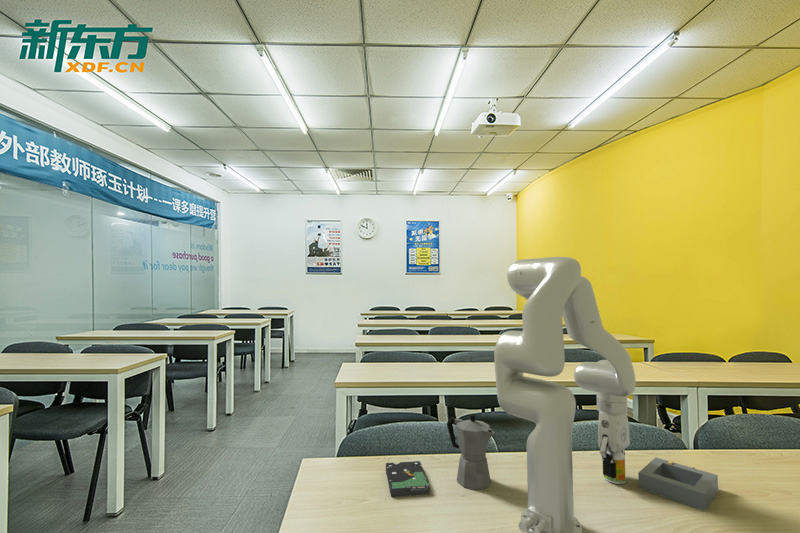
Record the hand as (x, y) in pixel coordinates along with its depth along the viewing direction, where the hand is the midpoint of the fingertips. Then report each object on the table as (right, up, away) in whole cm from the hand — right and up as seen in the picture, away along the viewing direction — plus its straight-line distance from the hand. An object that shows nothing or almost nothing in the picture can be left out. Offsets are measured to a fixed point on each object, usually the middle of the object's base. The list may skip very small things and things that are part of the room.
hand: (614, 472), depth 106 cm
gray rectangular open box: (+17, -2, -2) cm, 18 cm away
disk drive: (-57, -3, -1) cm, 57 cm away
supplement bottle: (0, -2, 0) cm, 2 cm away
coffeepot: (-40, -2, 0) cm, 40 cm away
